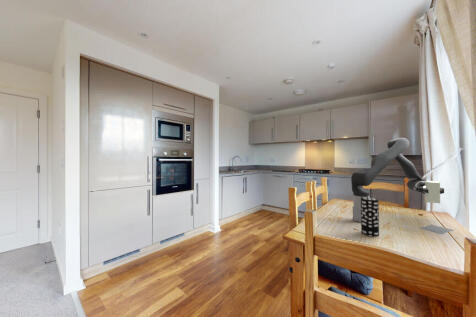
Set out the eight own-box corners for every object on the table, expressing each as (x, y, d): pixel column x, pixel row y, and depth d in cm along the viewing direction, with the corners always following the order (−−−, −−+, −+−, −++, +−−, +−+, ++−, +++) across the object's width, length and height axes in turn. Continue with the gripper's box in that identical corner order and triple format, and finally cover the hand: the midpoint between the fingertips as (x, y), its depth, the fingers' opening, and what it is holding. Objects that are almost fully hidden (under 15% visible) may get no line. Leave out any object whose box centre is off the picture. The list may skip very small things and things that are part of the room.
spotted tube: (379, 237, 103) (379, 200, 103) (361, 234, 108) (360, 199, 108) (378, 232, 111) (377, 198, 110) (361, 230, 115) (360, 196, 115)
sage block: (440, 203, 110) (440, 182, 110) (428, 202, 113) (428, 182, 113) (436, 201, 114) (436, 181, 114) (425, 200, 117) (425, 181, 117)
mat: (441, 235, 106) (441, 234, 106) (418, 228, 115) (418, 228, 115) (454, 230, 111) (454, 230, 111) (431, 225, 120) (431, 224, 120)
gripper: (409, 181, 129) (417, 184, 115) (439, 182, 122) (451, 186, 108) (409, 192, 129) (417, 197, 115) (439, 194, 122) (451, 199, 108)
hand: (434, 191), depth 111 cm, fingers closed on sage block, 5 cm apart
